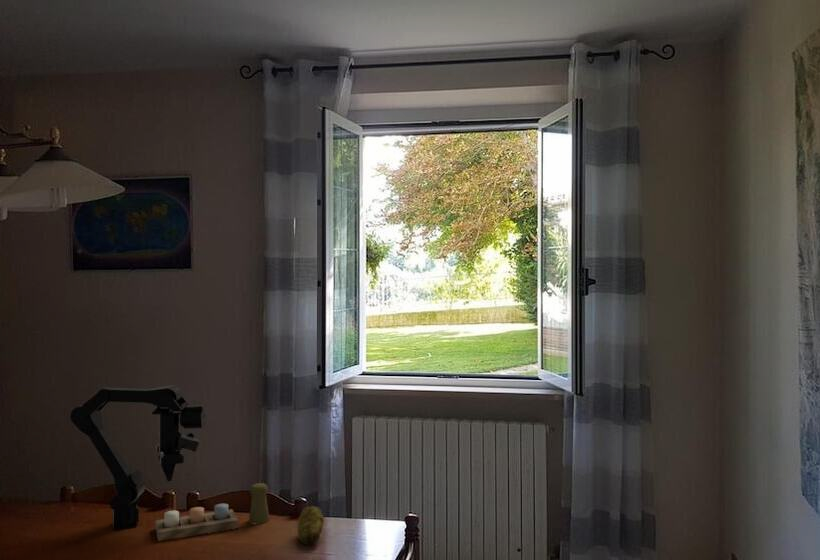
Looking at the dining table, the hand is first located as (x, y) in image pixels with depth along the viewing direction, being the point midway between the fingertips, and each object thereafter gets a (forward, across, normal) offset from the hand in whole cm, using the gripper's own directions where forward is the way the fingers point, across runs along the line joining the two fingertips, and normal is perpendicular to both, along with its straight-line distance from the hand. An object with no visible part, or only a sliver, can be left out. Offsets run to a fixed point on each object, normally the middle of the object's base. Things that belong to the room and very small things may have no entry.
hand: (169, 480), depth 195 cm
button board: (+13, -7, -7) cm, 16 cm away
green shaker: (+13, -8, -25) cm, 29 cm away
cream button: (+11, -7, 0) cm, 13 cm away
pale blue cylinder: (+11, -7, -14) cm, 19 cm away
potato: (+13, -28, -35) cm, 47 cm away
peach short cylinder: (+11, -7, -7) cm, 15 cm away
